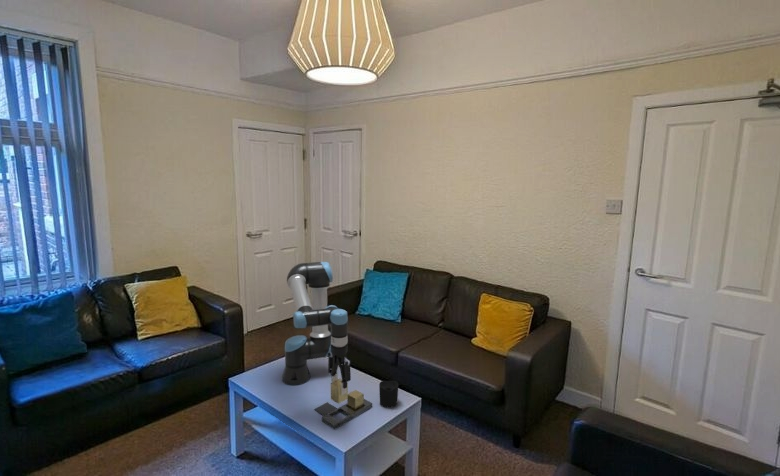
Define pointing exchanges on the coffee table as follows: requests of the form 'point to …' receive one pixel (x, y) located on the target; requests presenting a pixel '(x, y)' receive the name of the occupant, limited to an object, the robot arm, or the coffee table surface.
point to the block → (355, 400)
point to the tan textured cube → (338, 392)
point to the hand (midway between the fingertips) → (339, 391)
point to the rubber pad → (325, 409)
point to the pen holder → (388, 393)
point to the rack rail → (346, 411)
